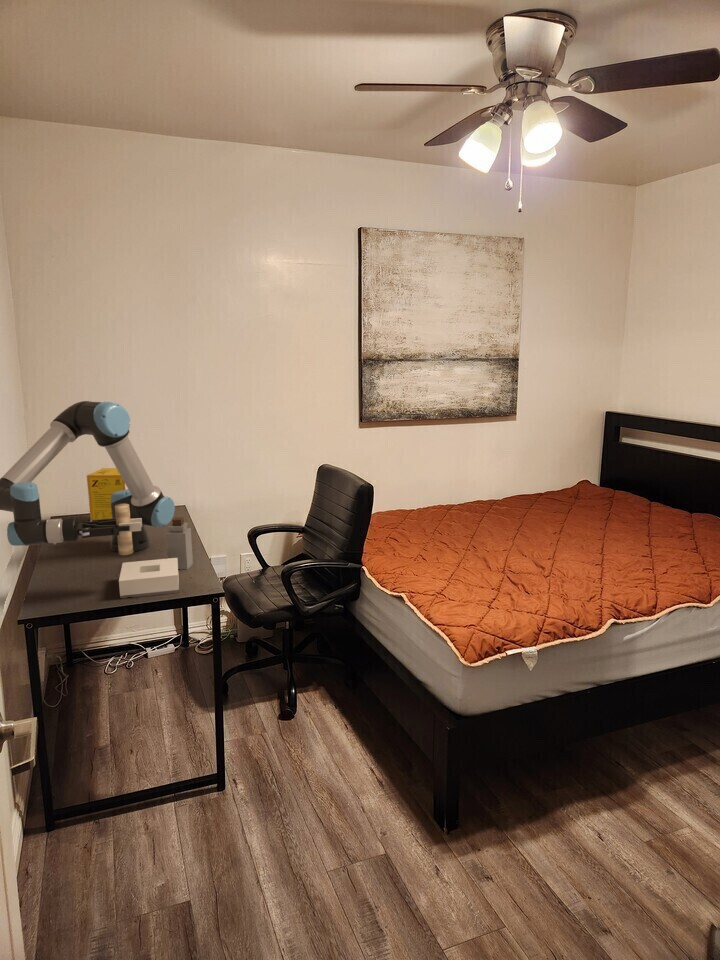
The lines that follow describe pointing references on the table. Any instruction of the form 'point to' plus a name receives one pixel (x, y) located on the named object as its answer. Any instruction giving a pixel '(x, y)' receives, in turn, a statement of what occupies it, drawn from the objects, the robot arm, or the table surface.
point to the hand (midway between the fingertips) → (141, 524)
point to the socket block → (149, 578)
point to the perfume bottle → (180, 543)
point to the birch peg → (124, 537)
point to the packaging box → (103, 491)
